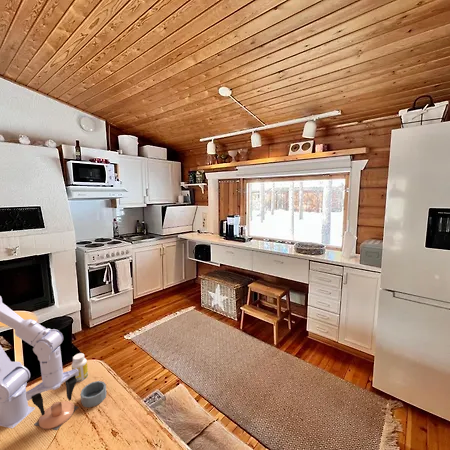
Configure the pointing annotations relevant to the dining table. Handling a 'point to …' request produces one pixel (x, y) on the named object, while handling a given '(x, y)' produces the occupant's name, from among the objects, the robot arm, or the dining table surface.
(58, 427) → the mat
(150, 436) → the dining table surface
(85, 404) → the cup
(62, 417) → the lid
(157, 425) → the dining table surface
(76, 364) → the supplement bottle
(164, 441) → the dining table surface
